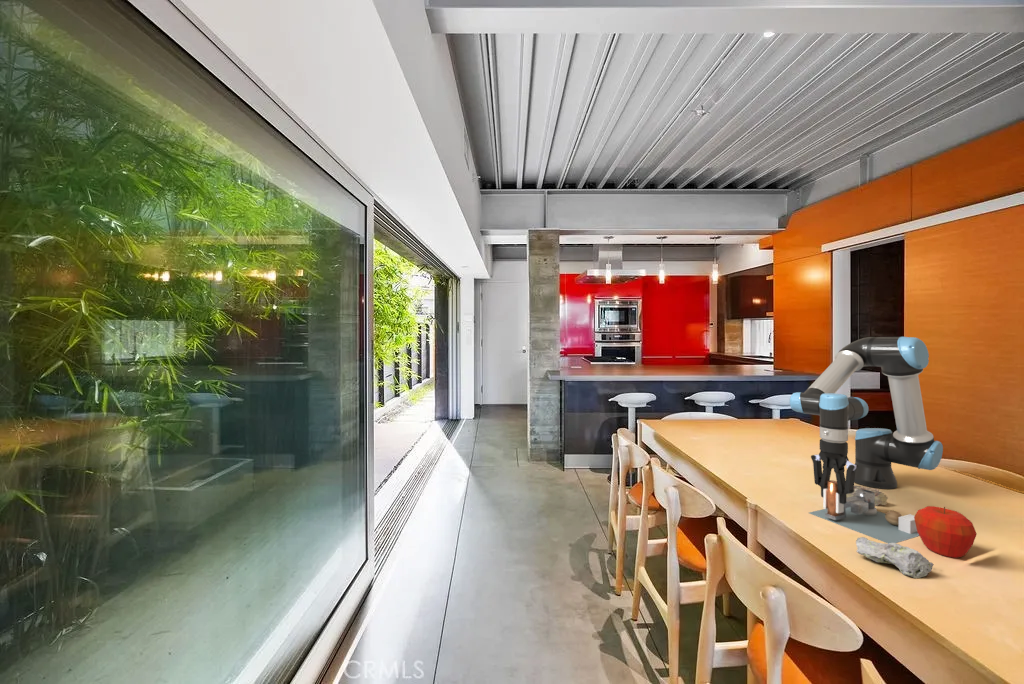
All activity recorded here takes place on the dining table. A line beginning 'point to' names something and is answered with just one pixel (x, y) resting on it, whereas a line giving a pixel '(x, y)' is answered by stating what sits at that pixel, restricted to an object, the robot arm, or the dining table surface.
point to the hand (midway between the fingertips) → (833, 509)
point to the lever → (848, 501)
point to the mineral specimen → (895, 557)
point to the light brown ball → (893, 517)
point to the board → (876, 525)
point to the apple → (945, 531)
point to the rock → (879, 496)
